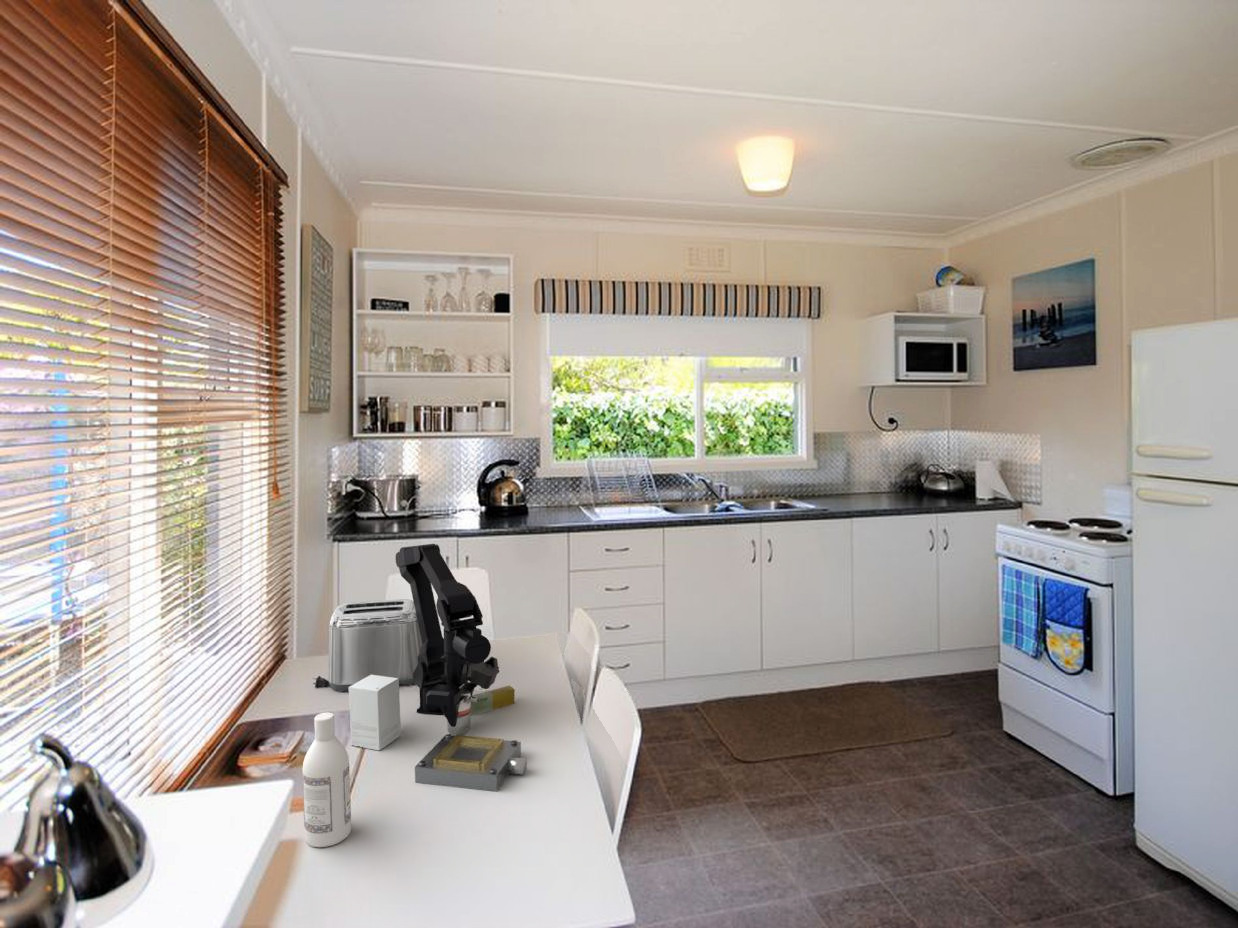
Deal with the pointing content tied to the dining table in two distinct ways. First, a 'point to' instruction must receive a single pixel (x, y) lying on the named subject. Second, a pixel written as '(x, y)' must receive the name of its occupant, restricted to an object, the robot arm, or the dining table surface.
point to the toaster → (372, 642)
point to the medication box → (493, 700)
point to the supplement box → (374, 712)
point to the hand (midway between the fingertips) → (459, 720)
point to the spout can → (463, 715)
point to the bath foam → (326, 786)
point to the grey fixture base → (471, 762)
